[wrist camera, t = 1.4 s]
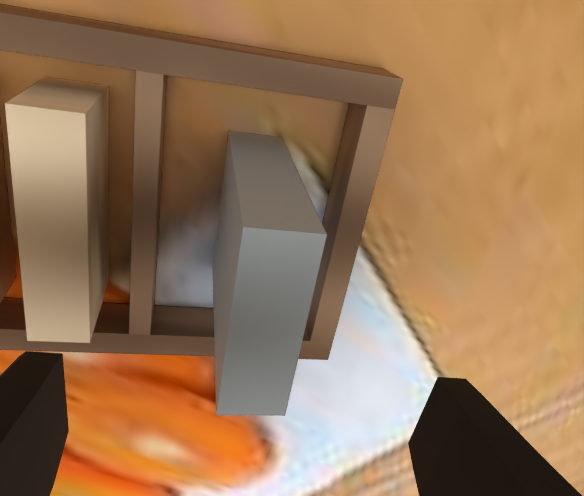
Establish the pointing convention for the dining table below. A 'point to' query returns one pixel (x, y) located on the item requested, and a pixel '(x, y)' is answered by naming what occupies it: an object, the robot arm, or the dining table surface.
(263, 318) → the grey rectangular block
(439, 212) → the dining table surface
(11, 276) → the stained offcut
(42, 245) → the birch offcut
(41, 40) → the walnut rack
